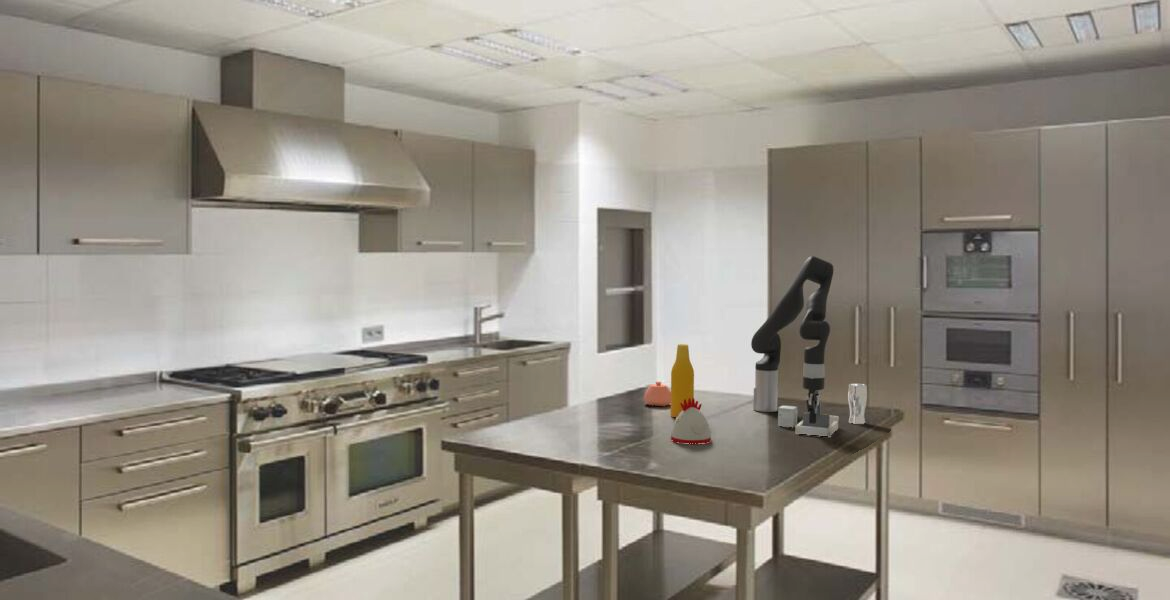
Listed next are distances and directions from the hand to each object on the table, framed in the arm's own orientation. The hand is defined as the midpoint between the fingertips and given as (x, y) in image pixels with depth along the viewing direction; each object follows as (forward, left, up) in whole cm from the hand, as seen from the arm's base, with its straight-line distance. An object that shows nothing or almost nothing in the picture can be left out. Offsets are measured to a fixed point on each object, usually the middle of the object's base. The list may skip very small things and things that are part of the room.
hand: (812, 423), depth 308 cm
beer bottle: (-54, +12, -5) cm, 55 cm away
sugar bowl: (-72, +33, -5) cm, 79 cm away
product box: (-12, +13, -5) cm, 18 cm away
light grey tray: (0, +8, -4) cm, 9 cm away
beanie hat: (-37, -28, -5) cm, 47 cm away
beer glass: (+11, +31, -5) cm, 33 cm away
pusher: (0, +5, -3) cm, 6 cm away
